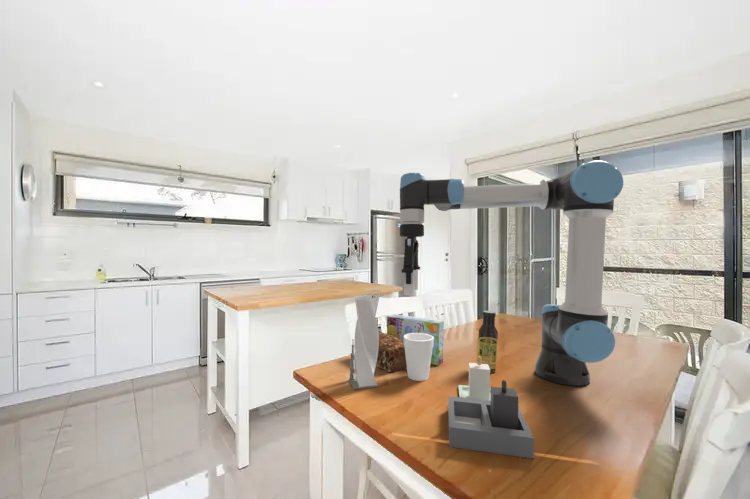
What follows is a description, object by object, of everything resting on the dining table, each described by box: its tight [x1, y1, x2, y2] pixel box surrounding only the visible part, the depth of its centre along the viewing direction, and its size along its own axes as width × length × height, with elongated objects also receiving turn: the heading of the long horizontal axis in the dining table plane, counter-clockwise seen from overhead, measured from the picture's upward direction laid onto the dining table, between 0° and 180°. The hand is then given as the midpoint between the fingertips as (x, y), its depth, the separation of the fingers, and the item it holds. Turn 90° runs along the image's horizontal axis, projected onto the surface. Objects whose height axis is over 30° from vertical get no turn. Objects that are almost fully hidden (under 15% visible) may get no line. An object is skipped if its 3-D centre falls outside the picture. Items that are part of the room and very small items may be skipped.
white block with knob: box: [468, 356, 491, 401], centre depth 84 cm, size 5×4×12 cm
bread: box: [376, 330, 407, 373], centre depth 112 cm, size 19×11×10 cm, turn 36°
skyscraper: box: [348, 289, 382, 390], centre depth 94 cm, size 8×8×28 cm
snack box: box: [386, 313, 445, 367], centre depth 117 cm, size 21×6×15 cm, turn 58°
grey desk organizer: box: [447, 379, 535, 459], centre depth 70 cm, size 16×14×12 cm
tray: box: [457, 384, 491, 401], centre depth 84 cm, size 10×13×1 cm
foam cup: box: [404, 333, 434, 382], centre depth 99 cm, size 10×9×13 cm
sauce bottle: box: [476, 310, 499, 374], centre depth 106 cm, size 7×6×20 cm
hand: (411, 292), depth 98 cm, fingers open, 13 cm apart
